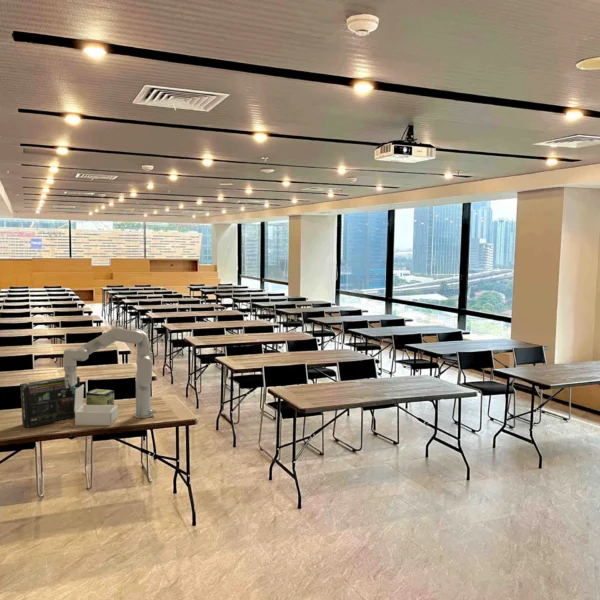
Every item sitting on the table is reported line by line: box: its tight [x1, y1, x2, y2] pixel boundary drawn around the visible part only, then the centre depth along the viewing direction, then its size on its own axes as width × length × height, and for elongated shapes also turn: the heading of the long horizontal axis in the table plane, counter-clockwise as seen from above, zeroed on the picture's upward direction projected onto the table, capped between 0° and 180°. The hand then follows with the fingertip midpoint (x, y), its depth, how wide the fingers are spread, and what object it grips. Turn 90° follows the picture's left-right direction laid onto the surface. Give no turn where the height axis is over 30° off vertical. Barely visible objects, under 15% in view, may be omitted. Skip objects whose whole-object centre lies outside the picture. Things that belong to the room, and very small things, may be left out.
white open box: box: [74, 404, 119, 427], centre depth 371 cm, size 23×16×9 cm
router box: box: [19, 376, 81, 428], centre depth 370 cm, size 36×11×27 cm, turn 133°
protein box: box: [85, 388, 115, 405], centre depth 388 cm, size 10×16×16 cm
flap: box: [71, 384, 85, 412], centre depth 369 cm, size 14×15×6 cm
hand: (70, 395), depth 369 cm, fingers open, 4 cm apart
